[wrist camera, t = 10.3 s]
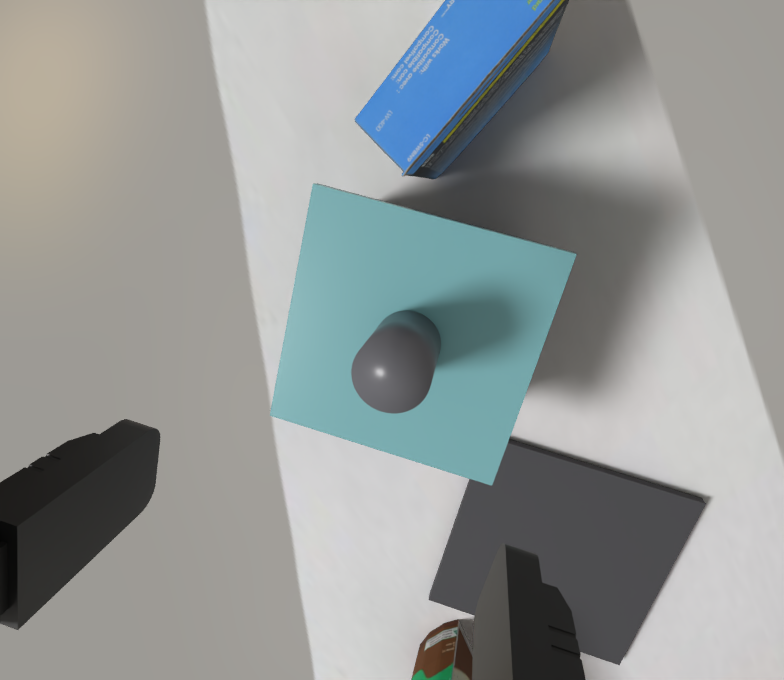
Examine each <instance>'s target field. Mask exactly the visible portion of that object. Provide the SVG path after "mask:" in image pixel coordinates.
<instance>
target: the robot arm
mask: <svg viewBox="0 0 784 680" xmlns="http://www.w3.org/2000/svg"><path fill="white" fill-rule="evenodd" d="M159 445H160V433H159V431H158V430H157V429H155V428H152V427H149V426H146V425H143V424H140V423H137V422H134V421H131V420H127V419H124V420H121V421H120V422H118V423H116V424H115V425H113V426H112V427H110V428H109V429H107V430H106V431H104V432H103V433H101V434H96V433H92V434H89V435H86V436H82V437H79V438H76V439H73V440H69V441H67V442H66V443H64V444H62V445H61V446H59V447H57V448H56V449H54V450H52V451H51V452H49V453H47V455H46V457H41V458H39V459H38V460H36V461H35V462H33V463H31V464H30V465H29V467H28V468H23V469H22V470H20V471H19V472H17V473H15V474H13V475H12V476H10V477H8V478H7V479H5V480H3V481H2V482H0V624H3V625H6V626H8V627H11V628H14V629H16V630H18V629H19V628H20V627H21V626H23V625H24V624H25V623H26V622H27V621H28V620H29V619H30V618H31V617H32V616H33V615H34V614H35V613H36V612H37V611H38V610H39V609H40V608H41V607H42V606H43V605H45V604H46V603H47V602H48V601H49V600H50V599H51V598H52V597H53V596H54V595H55V594H56V593H57V592H58V591H59V590H60V589H61V588H62V587H64V585H66V584H67V583H68V582H69V581H70V580H71V579H72V578H73V577H74V576H75V575H76V574H77V573H78V572H79V571H80V570H81V569H82V568H83V567H84V566H86V565H87V564H88V563H89V562H90V561H91V560H92V559H93V558H94V557H95V556H96V555H97V554H98V553H99V552H100V551H101V550H102V549H103V548H104V547H106V545H108V544H109V543H110V542H111V541H112V540H113V539H114V538H115V537H116V536H117V535H118V534H119V533H120V532H121V531H122V530H123V529H124V528H125V527H127V526H128V525H129V524H130V523H131V522H132V521H133V520H134V519H135V518H136V517H137V516H138V515H139V514H140V513H141V512H142V511H143V510H144V508H145V507H146V506H147V504H148V503H149V501H150V499H151V497H152V494H153V492H154V488H155V483H156V473H157V464H158V455H159ZM472 680H585V675H584V670H583V665H582V660H580V650H579V645H578V640H577V639H576V630H575V625H574V621H573V616H572V611H571V609H570V608H569V606H568V604H567V603H566V601H565V599H564V598H563V596H562V594H561V592H560V591H559V589H558V588H557V587H554V586H551V585H548V584H545V583H542V578H541V571H540V564H539V558H538V555H537V554H535V553H532V552H529V551H526V550H523V549H520V548H517V547H513V546H510V545H507V544H504V543H502V544H501V545H500V547H499V549H498V551H497V554H496V556H495V559H494V561H493V564H492V566H491V569H490V571H489V574H488V576H487V579H486V581H485V584H484V586H483V589H482V591H481V594H480V597H479V600H478V603H477V607H476V612H475V618H474V626H473V661H472Z"/></svg>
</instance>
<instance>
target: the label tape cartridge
mask: <svg viewBox="0 0 784 680" xmlns="http://www.w3.org/2000/svg"><path fill="white" fill-rule="evenodd" d="M568 1H569V0H445V2H444V3H443V4H442V6H441V7H440V8H439V9H438V11H437V12H436V13H435V15H434V16H433V17H432V19H431V20H430V21H429V23H428V24H427V25H426V26H425V28H424V29H423V30H422V32H421V33H420V34H419V36H418V37H417V38H416V40H415V41H414V42H413V44H412V45H411V46H410V48H409V49H408V50H407V51H406V53H405V54H404V55H403V57H402V58H401V59H400V61H399V62H398V63H397V65H396V66H395V67H394V68H393V70H392V71H391V73H390V74H389V75H388V76H387V78H386V79H385V80H384V82H383V83H382V84H381V86H380V87H379V88H378V89H377V91H376V92H375V93H374V95H373V96H372V97H371V99H370V100H369V101H368V103H367V104H366V105H365V106H364V108H363V109H362V111H361V112H360V113H359V114H358V116H357V117H356V118H355V122H356V123H357V124H358V125H359V126H360V127H361V129H362V130H363V131H364V132H365V133H366V134H367V135H368V136H369V137H370V138H371V139H372V140H373V141H374V142H375V143H376V144H377V145H378V146H379V147H380V148H381V149H382V150H383V151H384V152H385V153H386V154H387V155H388V156H389V157H390V158H391V159H392V160H393V161H394V162H395V163H396V164H397V165H398V166H399V167H400V168H401V169H402V171H403V173H402V176H405V175H407V176H417V177H423V178H429V179H435V178H437V177H438V176H439V175H440V174H441V173H443V172H444V171H445V169H446V168H447V167H448V166H449V165H450V164H451V163H452V162H453V161H454V160H455V159H456V158H457V157H458V156H459V154H460V153H461V152H462V151H463V150H464V149H465V148H466V147H467V145H468V144H469V143H470V142H471V141H472V140H473V139H474V138H475V136H476V135H477V134H478V133H479V132H480V131H481V130H482V129H483V127H484V126H485V125H486V124H487V123H488V122H489V121H490V120H491V118H492V117H493V116H494V115H495V114H496V113H497V112H498V111H499V109H500V108H501V107H502V106H503V105H504V104H505V103H506V101H507V100H508V99H509V98H510V97H511V96H512V95H513V93H514V92H515V91H516V90H517V89H518V88H519V87H520V85H521V84H522V83H523V82H524V81H525V80H526V79H527V77H528V76H529V75H530V74H531V73H532V72H533V71H534V69H535V68H536V67H537V66H538V65H539V64H540V62H541V61H542V60H543V59H544V57H545V56H546V55H547V53H548V52H549V49H550V46H551V44H552V41H553V38H554V36H555V33H556V31H557V28H558V26H559V24H560V21H561V18H562V16H563V13H564V11H565V8H566V6H567V4H568Z"/></svg>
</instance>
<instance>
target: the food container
mask: <svg viewBox="0 0 784 680" xmlns="http://www.w3.org/2000/svg"><path fill="white" fill-rule="evenodd" d="M472 661H473V650H472V648H471V645H470V643H469V641H468V639H467V637H466V634H465V632H464V630H463V628H462V625H461V623H460V621H459V619H458V620H454V621H451V622H447V623H444V624H442V625H441V626H439V627H437V628H436V629H434V630H432V631H431V632H430V633H429V634H428V635H427V636H426V638H425V639H424V640H423V641H422V643H421V644H420V647H419V651H418V655H417V659H416V663H415V667H414V671H413V675H412V679H411V680H472Z"/></svg>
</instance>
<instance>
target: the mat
mask: <svg viewBox="0 0 784 680" xmlns="http://www.w3.org/2000/svg"><path fill="white" fill-rule="evenodd" d="M705 505H706V503H705V502H704V500H703V499H702V498H699V497H696V496H693V495H690V494H686V493H683V492H680V491H677V490H673V489H670V488H667V487H664V486H660V485H657V484H654V483H651V482H647V481H644V480H641V479H638V478H634V477H631V476H628V475H624V474H621V473H618V472H615V471H611V470H608V469H605V468H602V467H598V466H595V465H592V464H589V463H585V462H582V461H579V460H576V459H572V458H569V457H566V456H563V455H559V454H556V453H553V452H550V451H546V450H543V449H540V448H536V447H533V446H530V445H527V444H523V443H520V442H517V441H514V440H510V439H509V441H508V444H507V446H506V449H505V452H504V454H503V457H502V460H501V463H500V465H499V468H498V471H497V474H496V476H495V479H494V482H493V485H492V486H491V485H488V484H485V483H482V482H478V481H475V480H472V479H469V482H468V485H467V488H466V491H465V494H464V496H463V499H462V502H461V505H460V508H459V511H458V514H457V517H456V519H455V522H454V525H453V528H452V531H451V534H450V537H449V540H448V542H447V545H446V548H445V551H444V554H443V557H442V560H441V563H440V566H439V568H438V571H437V574H436V577H435V580H434V583H433V586H432V589H431V591H430V595H429V600H431V601H434V602H437V603H440V604H443V605H445V606H448V607H451V608H454V609H457V610H460V611H463V612H466V613H469V614H472V615H475V612H476V607H477V603H478V600H479V597H480V594H481V591H482V589H483V586H484V584H485V581H486V579H487V576H488V574H489V571H490V569H491V566H492V564H493V561H494V559H495V556H496V554H497V551H498V549H499V547H500V545H501V544H502V543H504V544H507V545H510V546H513V547H517V548H520V549H523V550H526V551H529V552H532V553H535V554H537V555H538V558H539V564H540V571H541V578H542V583H545V584H548V585H551V586H554V587H557V588H558V589H559V591H560V592H561V594H562V596H563V598H564V599H565V601H566V603H567V604H568V606H569V608H570V609H571V611H572V616H573V621H574V625H575V630H576V639H577V640H578V645H579V650H580V652H583V653H586V654H588V655H591V656H594V657H597V658H600V659H603V660H606V661H609V662H612V663H615V664H618V665H620V663H621V661H622V659H623V657H624V655H625V654H626V652H627V650H628V648H629V646H630V644H631V642H632V641H633V639H634V637H635V635H636V633H637V631H638V629H639V628H640V626H641V624H642V622H643V620H644V618H645V616H646V615H647V613H648V611H649V609H650V607H651V605H652V603H653V601H654V600H655V598H656V596H657V594H658V592H659V590H660V588H661V587H662V585H663V583H664V581H665V579H666V577H667V575H668V574H669V572H670V570H671V568H672V566H673V564H674V562H675V561H676V559H677V557H678V555H679V553H680V551H681V549H682V548H683V546H684V544H685V542H686V540H687V538H688V536H689V535H690V533H691V531H692V529H693V527H694V525H695V523H696V521H697V520H698V518H699V516H700V514H701V512H702V510H703V508H704V507H705Z"/></svg>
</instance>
